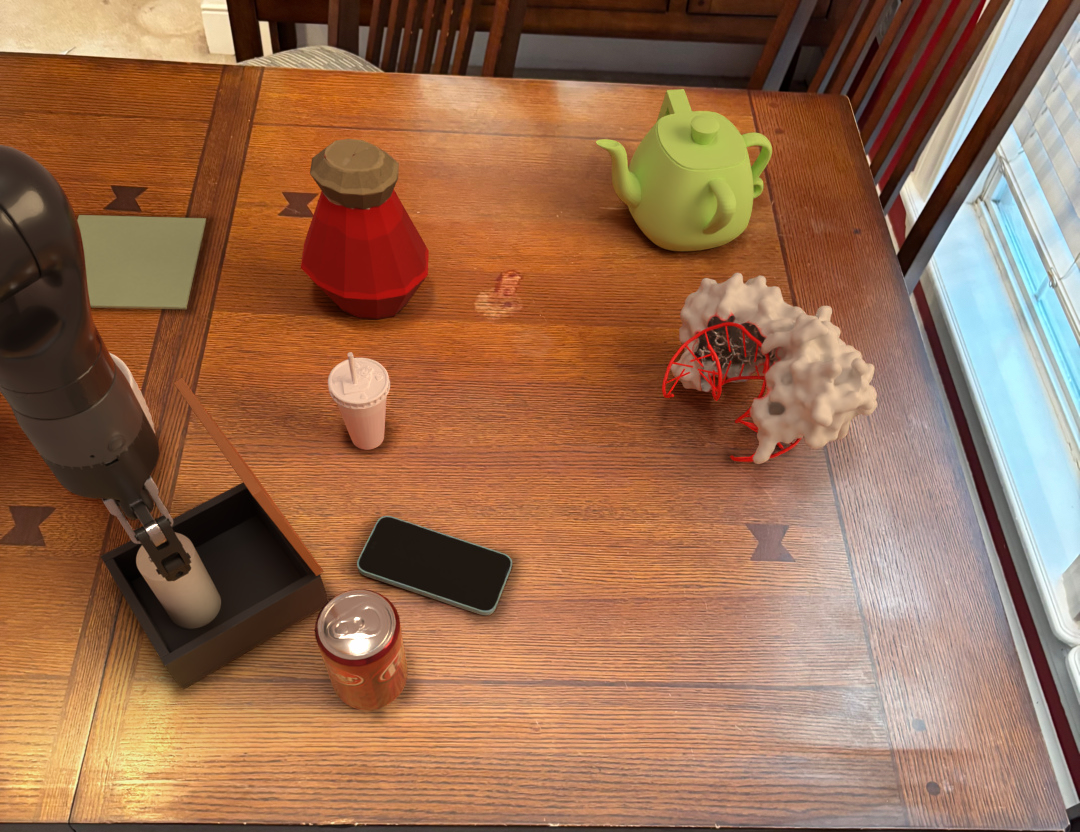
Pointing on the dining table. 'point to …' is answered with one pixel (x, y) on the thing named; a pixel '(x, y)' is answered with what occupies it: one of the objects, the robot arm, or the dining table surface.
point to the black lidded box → (224, 586)
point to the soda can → (362, 648)
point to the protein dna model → (772, 363)
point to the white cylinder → (183, 589)
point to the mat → (140, 260)
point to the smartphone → (435, 565)
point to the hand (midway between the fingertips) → (156, 538)
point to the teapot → (689, 177)
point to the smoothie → (361, 399)
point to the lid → (247, 476)
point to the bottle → (362, 233)
